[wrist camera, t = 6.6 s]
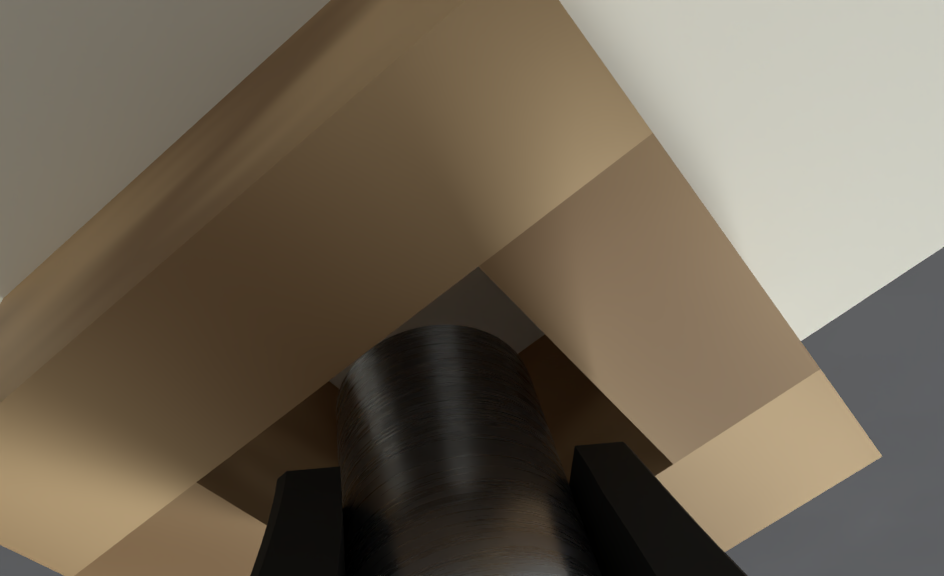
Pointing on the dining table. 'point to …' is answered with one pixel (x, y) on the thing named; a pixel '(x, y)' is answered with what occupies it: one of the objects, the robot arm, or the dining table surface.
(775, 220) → the board
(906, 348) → the dining table surface
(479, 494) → the metal peg
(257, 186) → the square wooden ring
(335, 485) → the robot arm
